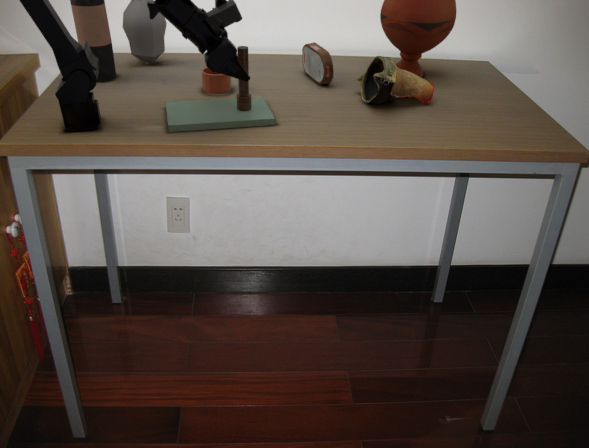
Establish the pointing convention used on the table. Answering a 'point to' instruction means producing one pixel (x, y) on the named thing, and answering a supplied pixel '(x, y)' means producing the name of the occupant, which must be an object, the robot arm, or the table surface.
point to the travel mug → (95, 34)
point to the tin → (317, 63)
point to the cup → (215, 82)
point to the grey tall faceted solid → (144, 31)
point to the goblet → (416, 27)
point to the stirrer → (243, 82)
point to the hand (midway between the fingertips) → (245, 72)
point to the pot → (392, 83)
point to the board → (216, 114)
